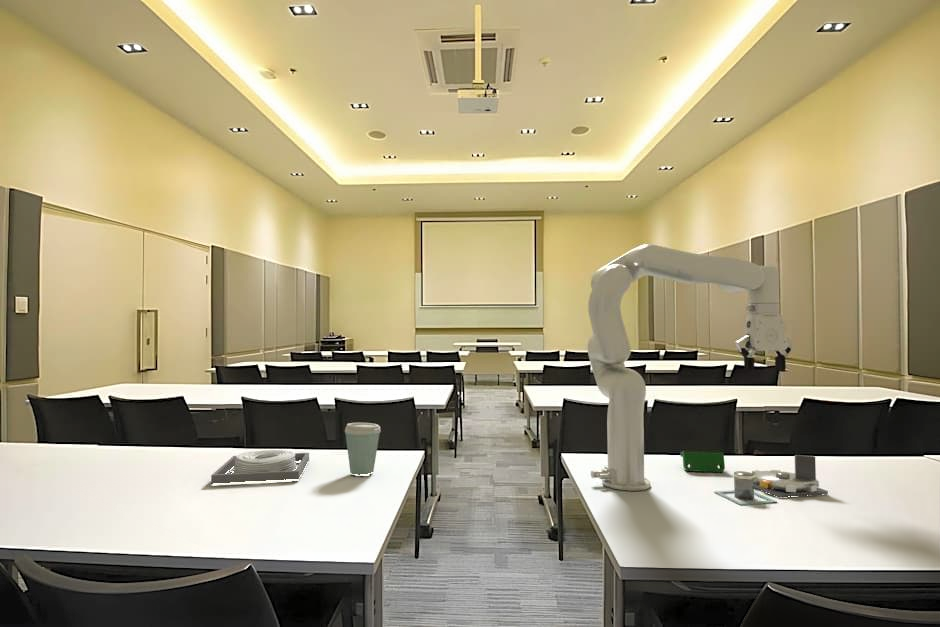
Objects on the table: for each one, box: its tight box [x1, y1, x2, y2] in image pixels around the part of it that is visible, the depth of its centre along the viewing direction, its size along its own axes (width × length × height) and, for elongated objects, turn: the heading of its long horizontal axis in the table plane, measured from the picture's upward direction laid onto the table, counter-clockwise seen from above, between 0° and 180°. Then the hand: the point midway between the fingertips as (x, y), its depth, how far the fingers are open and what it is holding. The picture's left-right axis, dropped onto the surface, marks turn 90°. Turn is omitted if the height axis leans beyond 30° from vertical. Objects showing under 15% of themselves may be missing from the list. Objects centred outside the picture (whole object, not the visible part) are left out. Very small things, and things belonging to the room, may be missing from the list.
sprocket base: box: [754, 482, 829, 498], centre depth 142 cm, size 14×14×1 cm
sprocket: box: [751, 454, 820, 492], centre depth 142 cm, size 16×16×8 cm
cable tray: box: [210, 452, 310, 485], centre depth 159 cm, size 23×23×3 cm
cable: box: [227, 449, 297, 474], centre depth 160 cm, size 18×18×6 cm
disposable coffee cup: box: [344, 422, 382, 475], centre depth 158 cm, size 11×11×15 cm
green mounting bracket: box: [679, 450, 726, 473], centre depth 161 cm, size 12×6×9 cm, turn 76°
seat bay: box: [714, 489, 778, 506], centre depth 134 cm, size 10×10×1 cm
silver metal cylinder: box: [733, 470, 755, 501], centre depth 134 cm, size 4×4×6 cm
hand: (765, 371), depth 150 cm, fingers open, 9 cm apart
